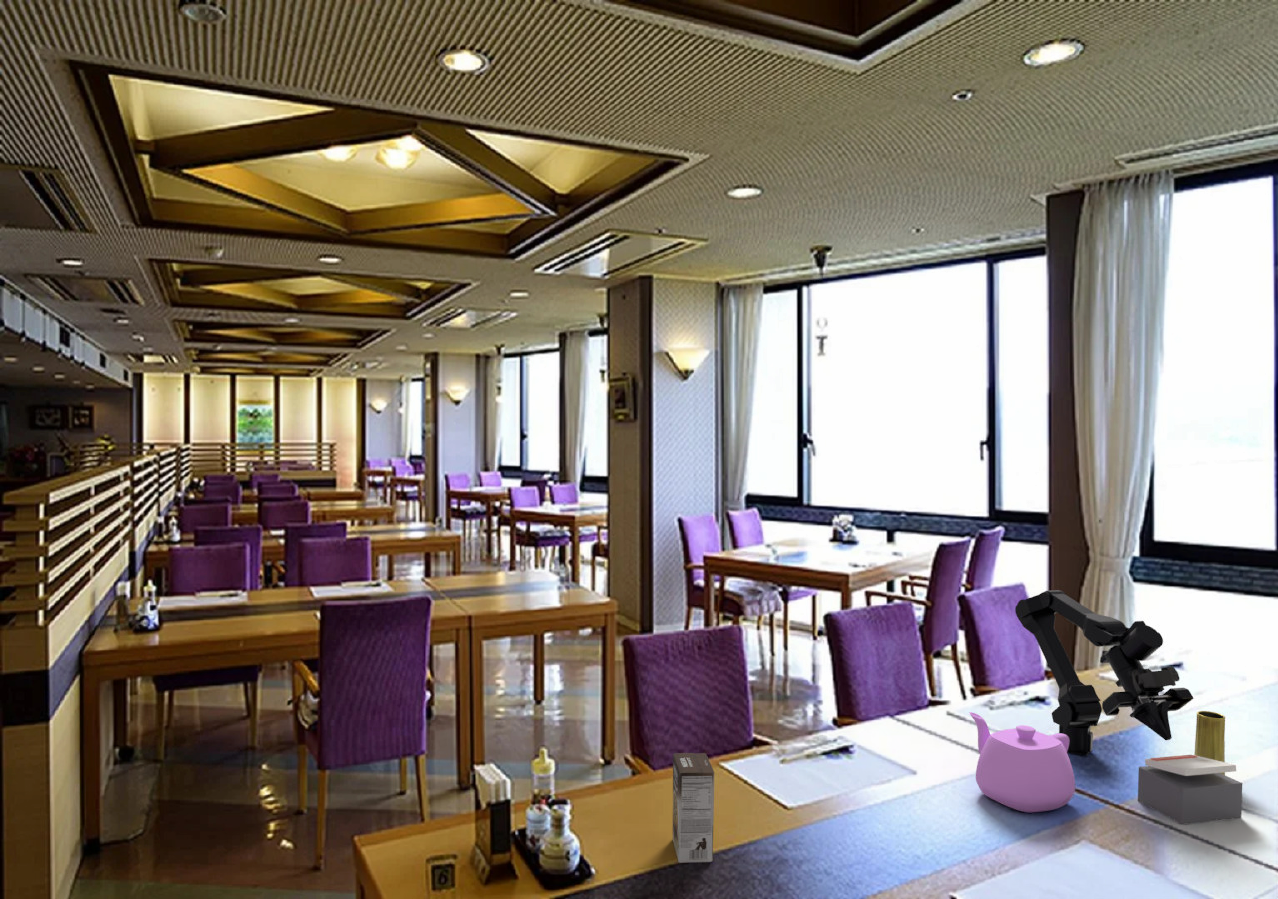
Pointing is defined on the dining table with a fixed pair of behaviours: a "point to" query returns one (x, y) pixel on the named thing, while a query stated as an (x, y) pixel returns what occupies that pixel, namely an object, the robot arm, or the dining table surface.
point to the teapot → (1024, 767)
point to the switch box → (1190, 795)
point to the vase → (1210, 736)
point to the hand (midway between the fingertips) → (1168, 739)
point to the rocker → (1190, 765)
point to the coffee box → (693, 807)
